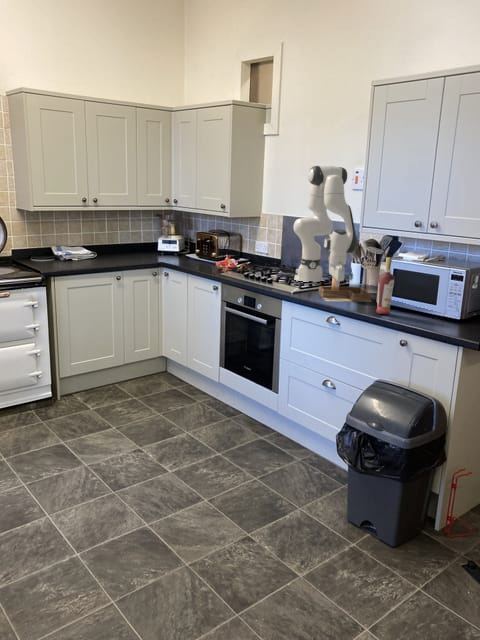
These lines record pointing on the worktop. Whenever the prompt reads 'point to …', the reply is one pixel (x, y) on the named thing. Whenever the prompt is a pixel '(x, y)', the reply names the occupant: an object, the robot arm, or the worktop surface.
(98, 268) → the worktop surface
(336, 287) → the peg
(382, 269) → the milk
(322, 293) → the walls
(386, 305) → the liquor
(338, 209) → the robot arm
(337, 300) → the board
